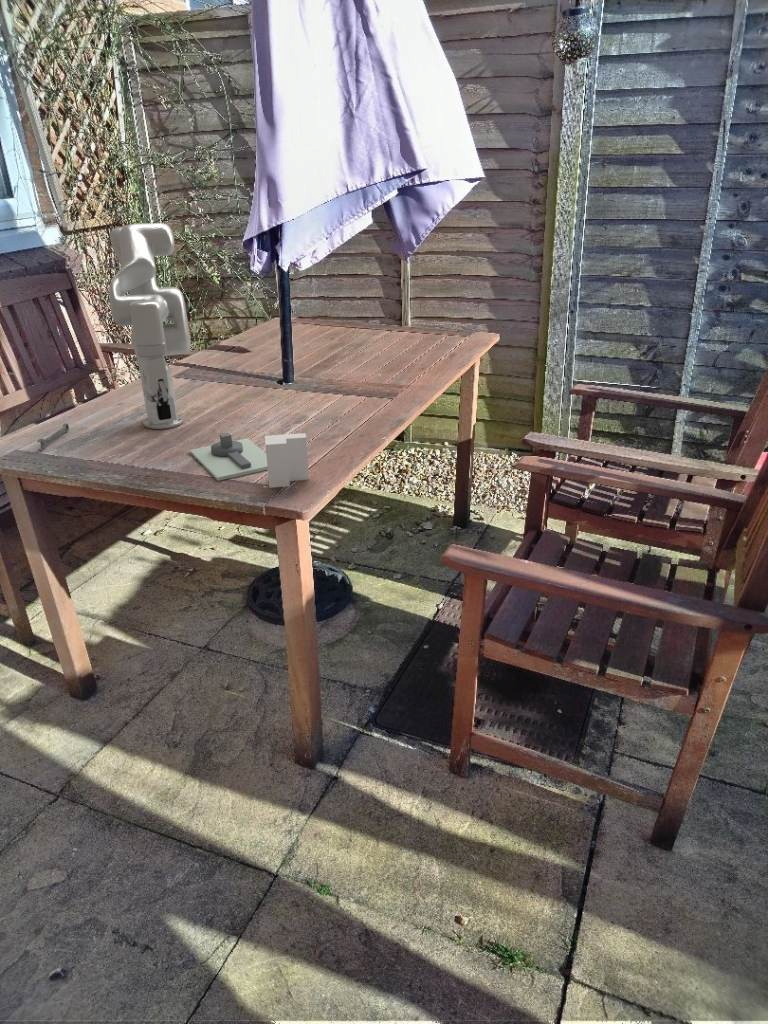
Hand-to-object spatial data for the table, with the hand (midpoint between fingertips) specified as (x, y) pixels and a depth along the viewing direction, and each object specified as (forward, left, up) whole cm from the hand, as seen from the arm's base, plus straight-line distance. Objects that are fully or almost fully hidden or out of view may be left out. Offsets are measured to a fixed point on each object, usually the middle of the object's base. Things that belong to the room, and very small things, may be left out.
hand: (161, 415), depth 191 cm
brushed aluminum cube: (0, 0, -1) cm, 1 cm away
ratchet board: (+5, +17, -15) cm, 23 cm away
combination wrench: (-40, -24, -16) cm, 49 cm away
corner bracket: (+25, +25, -15) cm, 39 cm away
